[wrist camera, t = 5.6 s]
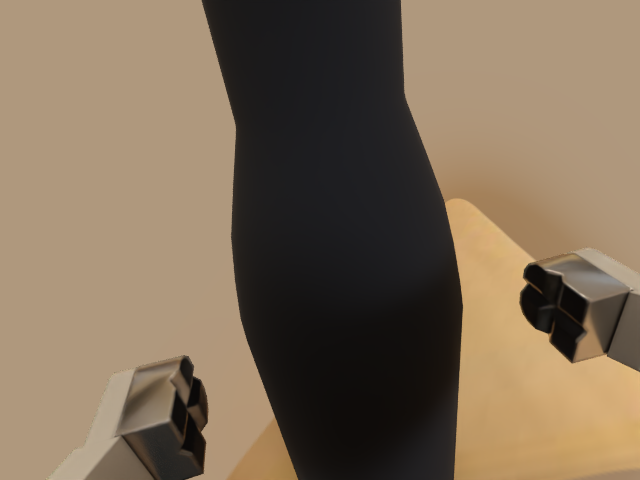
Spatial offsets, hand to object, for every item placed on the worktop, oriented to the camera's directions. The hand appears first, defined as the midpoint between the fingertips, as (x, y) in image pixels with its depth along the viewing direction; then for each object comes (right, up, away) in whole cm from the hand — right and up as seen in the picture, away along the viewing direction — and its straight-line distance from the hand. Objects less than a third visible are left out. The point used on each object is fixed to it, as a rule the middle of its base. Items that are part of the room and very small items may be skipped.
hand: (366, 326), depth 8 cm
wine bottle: (+2, -12, +9) cm, 15 cm away
